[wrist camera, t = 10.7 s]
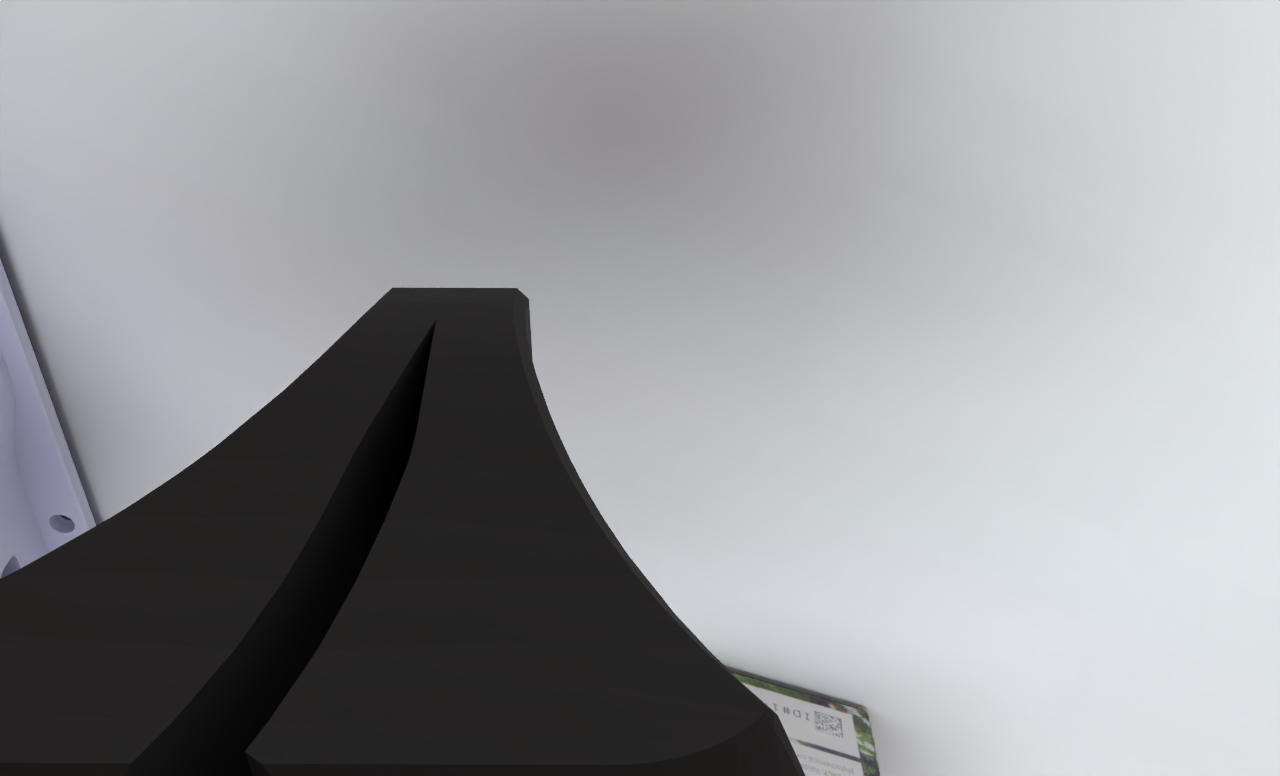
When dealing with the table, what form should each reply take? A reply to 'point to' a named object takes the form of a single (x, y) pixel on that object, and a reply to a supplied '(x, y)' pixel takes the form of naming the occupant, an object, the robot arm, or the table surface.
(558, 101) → the table surface
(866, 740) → the syrup box
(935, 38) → the table surface
